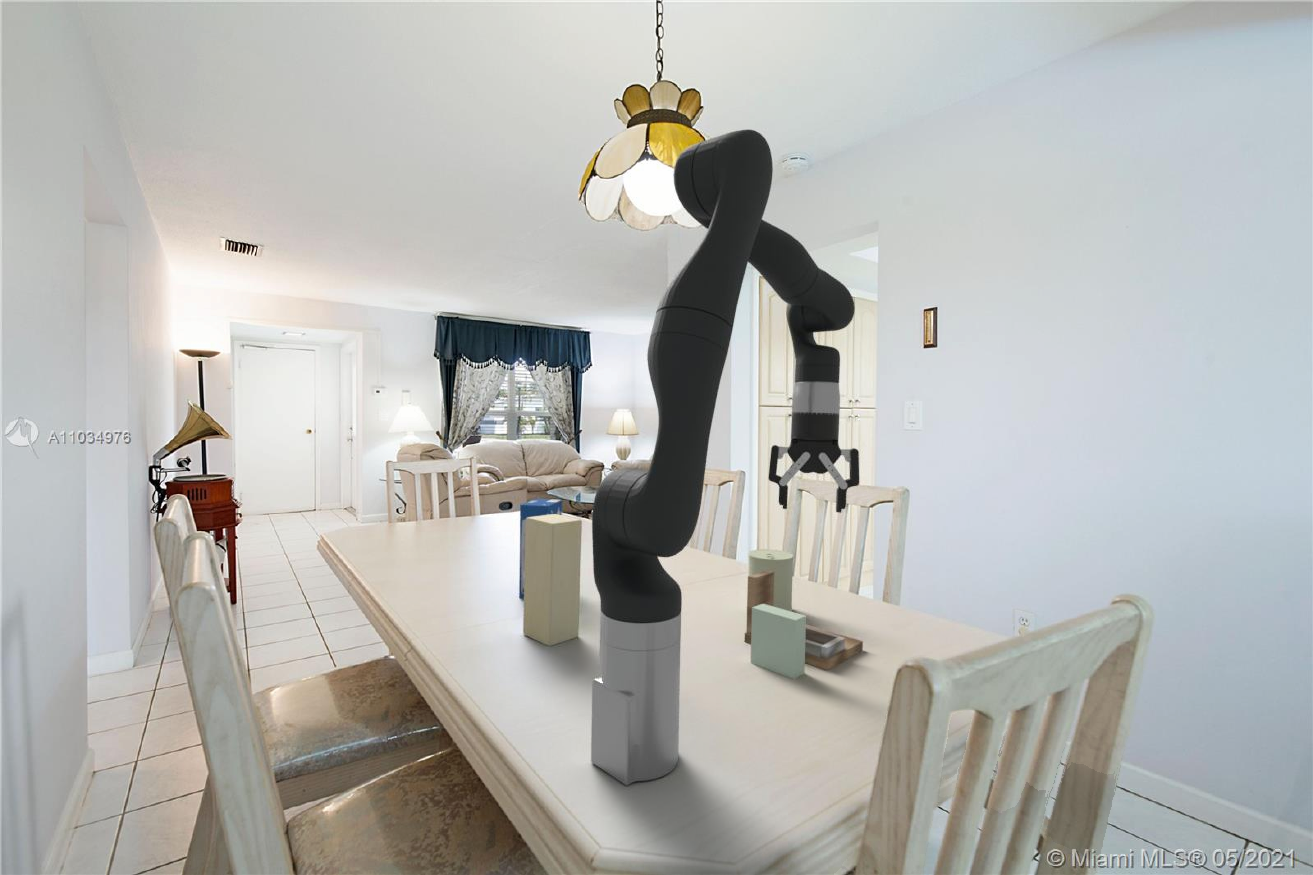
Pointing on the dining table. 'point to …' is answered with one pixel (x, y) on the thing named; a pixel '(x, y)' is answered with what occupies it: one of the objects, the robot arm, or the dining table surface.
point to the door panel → (778, 640)
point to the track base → (819, 643)
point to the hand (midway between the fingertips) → (811, 510)
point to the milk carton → (526, 510)
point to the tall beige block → (552, 578)
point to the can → (775, 573)
